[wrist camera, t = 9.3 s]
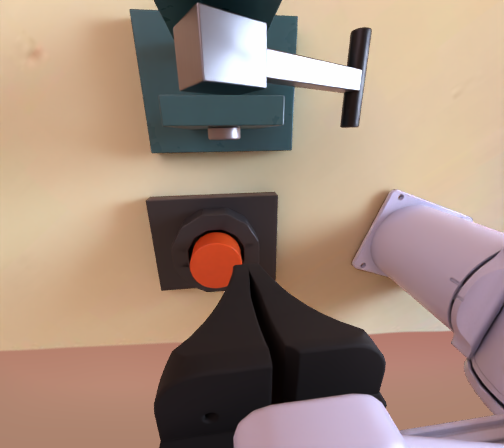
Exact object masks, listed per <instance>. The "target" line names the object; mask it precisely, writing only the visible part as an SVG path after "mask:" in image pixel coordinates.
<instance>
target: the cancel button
mask: <svg viewBox="0 0 504 448" xmlns="http://www.w3.org/2000/svg"><path fill="white" fill-rule="evenodd" d="M241 264H242V258H241V252H240V247H239V245H238V243H237V241H236V240H235V239H234V238H233V237H231V236H230V235H228V234H226V233H222V232H211V233H208V234H205V235H204V236H202V237H201V238H199V239H198V241H197V242H196V243H195V245H194V248H193V252H192V256H191V260H190V271H191V274H192V276H193V277H194V279H195V280H196V281H197V282H198V283H200V284H201V285H203V286H205V287H208V288H222V287H226V286H228V283H229V281H230V278H231V275H232V271H233V266H234V265H241Z"/></svg>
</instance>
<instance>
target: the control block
mask: <svg viewBox="0 0 504 448" xmlns="http://www.w3.org/2000/svg"><path fill="white" fill-rule="evenodd" d="M146 205H147V210H148V216H149V222H150V228H151V233H152V239H153V245H154V251H155V256H156V262H157V268H158V274H159V279H160V285H161V290H162V291H163V290H176V289H188V288H198V289H201V290H204V291H206V292H215V291H225V290H226V288H227V286H226V287H222V288H208V287H205V286H203V285H201V284H200V283H198V282H197V281H196V280H195V279H194V277H193V276H192V274H191V271H190V260H191V256H192V252H193V248H194V245H195V243H196V242H197V241H198V239H199V238H201V237H202V236H204V235H205V234H208V233H211V232H222V233H226V234H228V235H230V236H231V237H233V238H234V239H235V240H236V241H237V243H238V245H239V247H240V252H241V258H242V264H256V263H258V264H260V265H261V267H262V268H263V269H264V270H265V271H266V272H267V273H268V274H269V275H270V276H271V277H272V278H273V279H274V280H275V279H276V244H277V208H278V195H277V194H276V193H275V192H262V193H237V194H212V195H187V196H161V197H150V198H149V199H147V200H146Z"/></svg>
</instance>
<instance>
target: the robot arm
mask: <svg viewBox="0 0 504 448" xmlns="http://www.w3.org/2000/svg"><path fill="white" fill-rule="evenodd" d="M399 195H401V196H400V198H399V199H398V196H399ZM362 263H363V265H361V264H362ZM352 265H353V266H354V267H355V268H357V269H361V270H364V271H368V272H372V273H375V274H379V275H383V276H386V277H390V278H391V279H392V280H393V281H394V282H395V283H397V284H398V285H399V286H400V287H401V288H402V289H404V290H405V291H406V292H407V293H408V294H409V295H411V296H412V297H413V298H414V299H415V300H416V301H418V302H419V303H420V304H421V305H422V306H423V307H425V308H426V309H427V310H428V311H429V312H430V313H432V314H433V315H434V316H435V317H436V318H437V319H439V320H440V321H441V322H442V323H443V324H444V325H446V326H447V327H448V328H449V329H450V330H451V331H453V332H454V336H453V339H452V341H451V344H452V345H453V346H454V347H456V348H457V349H458V350H459V351H460V352H461V353H462V354H463V355H464V356H465V357H467V359H466V360H465V362H464V372H465V375H466V377H467V379H468V382H469V383H470V385H471V386H472V388H473V389H474V391H475V392H476V394H477V395H478V396H479V397H480V399H481V400H482V401H483V402H484V404H485V405H486V406H487V407H488V408H489V409H490V411H491V412H493V414H494V415H492V416H486V417H480V418H474V419H467V420H461V421H455V422H449V423H443V424H436V425H430V426H424V427H418V428H412V429H406V430H400V431H399V430H398V428H397V427H396V425H395V424H394V422H393V420H392V418H391V417H390V415H389V413H388V412H387V410H386V409H385V408H386V406H387V405H386V401H385V400H384V398H383V397H382V395H381V393H380V392H379V391H380V387H381V383H382V379H383V376H384V372H385V365H386V362H385V359H384V356H383V354H382V353H381V352H380V350H379V349H378V348H377V346H376V345H375V343H374V342H373V341H372V339H371V338H370V337H369V336H368V334H367V333H366V332H365V331H364V330H363V329H360V328H357V327H355V326H352V325H349V324H346V323H343V322H340V321H338V320H336V319H333V318H331V317H329V316H326V315H324V314H322V313H320V312H318V311H316V310H315V309H313V308H311V307H309V306H307V305H306V304H304V303H302V302H301V301H299V300H298V299H296V298H295V297H293V296H292V295H291V294H289V293H288V292H287V291H286V290H284V289H283V288H282V287H281V286H280V285H279V284H278V283H277V282H276V281H275V280H274V279H273V278H272V277H271V276H270V275H269V274H268V273H267V272H266V271H265V270H264V269H263V268H262V267H261V265H260V264H258V263H256V264H241V265H234V266H233V271H232V275H231V278H230V281H229V283H228V286H227V288H226V290H225V292H224V294H223V296H222V298H221V300H220V301H219V303H218V305H217V306H216V308H215V309H214V310H213V312H212V313H211V314H210V316H209V317H208V318H207V319H206V321H205V322H204V323H203V324H202V325H201V326H200V327H199V328H198V329H197V330H196V331H195V332H194V333H193V334H192V335H191V336H190V337H189V338H188V339H187V340H186V341H184V342H183V343H182V344H181V345H180V346H178V347H177V348H176V349H174V350H173V351H172V353H171V355H170V357H169V359H168V361H167V364H166V366H165V368H164V371H163V374H162V376H161V379H160V383H159V386H158V390H157V395H156V398H155V402H154V414H155V418H156V422H157V427H158V431H159V436H160V440H161V443H160V447H159V448H504V233H502V232H499V231H497V230H494V229H491V228H488V227H485V226H482V225H480V224H477V223H474V222H473V219H472V218H471V217H469V216H466V215H463V214H461V213H458V212H455V211H453V210H450V209H447V208H445V207H442V206H439V205H437V204H434V203H431V202H429V201H426V200H423V199H421V198H418V197H415V196H413V195H410V194H408V193H405V192H402V191H400V190H397V189H393V190H391V191H390V192H389V194H388V196H387V198H386V200H385V201H384V203H383V205H382V207H381V209H380V211H379V213H378V215H377V216H376V218H375V220H374V222H373V224H372V226H371V228H370V230H369V231H368V233H367V235H366V237H365V239H364V241H363V243H362V245H361V246H360V248H359V250H358V252H357V254H356V256H355V258H354V259H353V262H352Z"/></svg>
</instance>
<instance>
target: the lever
mask: <svg viewBox="0 0 504 448" xmlns="http://www.w3.org/2000/svg"><path fill="white" fill-rule="evenodd" d="M371 32H372V30H371V28H366V27H364V28H358V29H355V30H353V31H352V32H351V35H350V44H349V53H348V62H347V66H344V65H339V64H335V63H331V62H326V61H322V60H318V59H313V58H309V57H304V56H300V55H296V54H291V53H287V52H282V51H278V50H274V49H269V48H267V23H266V22H263V21H260V20H257V19H253V18H250V17H247V16H243V15H240V14H237V13H233V12H230V11H227V10H224V9H220V8H217V7H214V6H210V5H207V4H204V3H200V2H197V3H196V4H195V5H194V6H193V7H192V8H191V9H190V10H189V11H188V12H187V13H186V14H185V15H184V16H183V17H182V18H181V20H180V21H179V22H178V23H177V24H176V25H175V26H174V27H173V34H174V44H175V53H176V63H177V72H178V82H179V90H180V91H182V92H194V93H206V94H218V95H242V94H246V93H250V92H254V91H259V90H263V89H266V83H269V84H277V85H285V86H293V87H301V88H308V89H316V90H324V91H332V92H340V93H344V98H343V107H342V116H341V125H340V127H342V128H348V127H358V126H359V120H360V113H361V105H362V98H363V91H364V83H365V76H366V69H367V61H368V54H369V47H370V39H371Z"/></svg>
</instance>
